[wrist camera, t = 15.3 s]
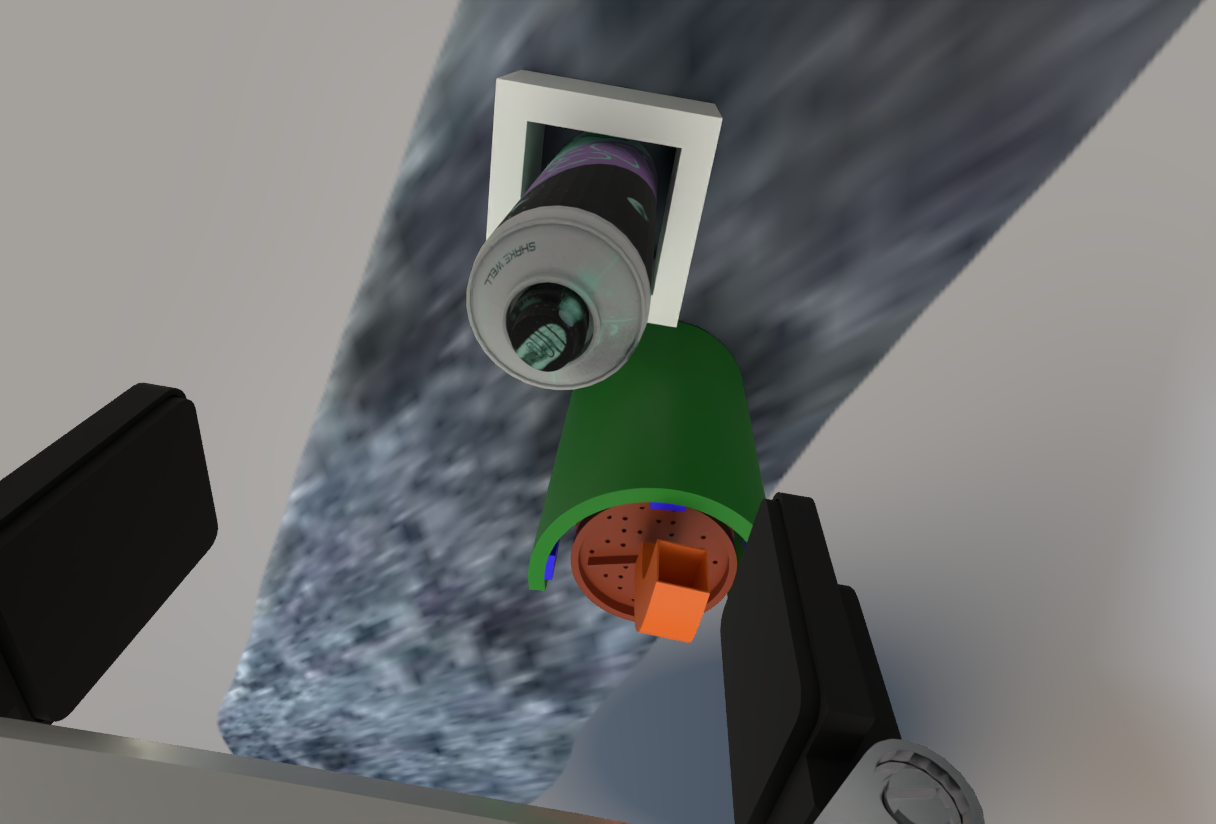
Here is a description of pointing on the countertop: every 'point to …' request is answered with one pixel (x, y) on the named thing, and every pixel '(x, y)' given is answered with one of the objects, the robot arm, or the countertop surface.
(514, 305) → the spray can
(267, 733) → the countertop surface
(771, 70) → the countertop surface
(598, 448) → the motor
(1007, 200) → the countertop surface
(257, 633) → the countertop surface
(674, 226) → the square frame
